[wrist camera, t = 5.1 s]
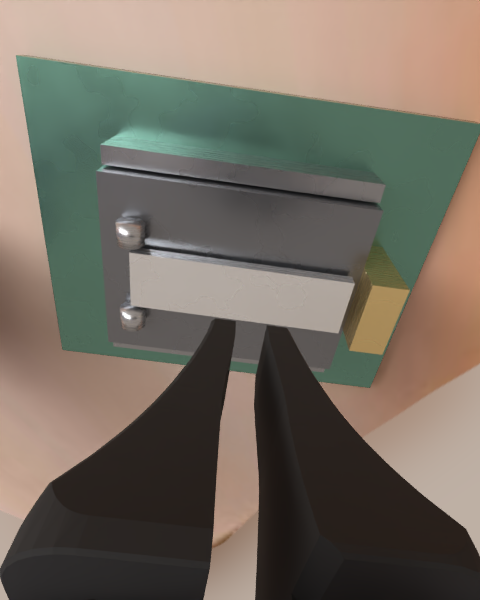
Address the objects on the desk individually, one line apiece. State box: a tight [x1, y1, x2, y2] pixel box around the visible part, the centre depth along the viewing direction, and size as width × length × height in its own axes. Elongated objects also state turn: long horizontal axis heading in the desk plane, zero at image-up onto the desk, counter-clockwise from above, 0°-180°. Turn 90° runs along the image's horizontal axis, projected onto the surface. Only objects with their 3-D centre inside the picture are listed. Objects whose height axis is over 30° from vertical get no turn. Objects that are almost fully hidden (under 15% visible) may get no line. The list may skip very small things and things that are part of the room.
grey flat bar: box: [129, 248, 355, 333], centre depth 18 cm, size 10×3×1 cm, turn 83°
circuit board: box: [16, 55, 480, 388], centre depth 19 cm, size 20×16×5 cm
